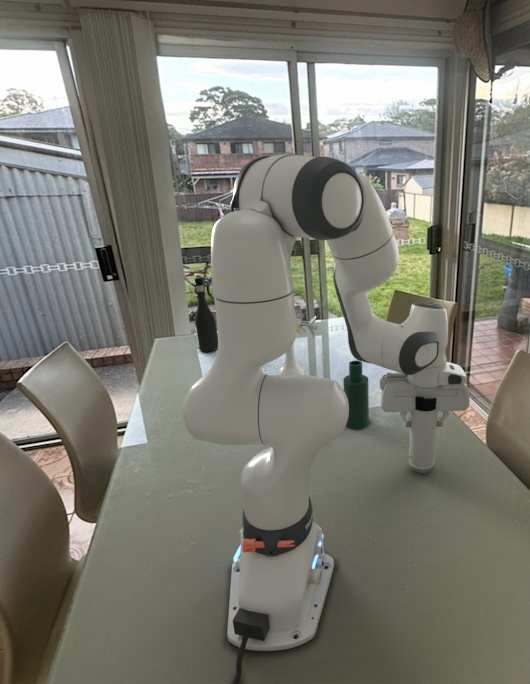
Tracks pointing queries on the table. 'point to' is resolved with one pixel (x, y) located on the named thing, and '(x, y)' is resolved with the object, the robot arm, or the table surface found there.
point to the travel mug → (423, 435)
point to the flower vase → (290, 361)
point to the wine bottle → (205, 322)
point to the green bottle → (357, 396)
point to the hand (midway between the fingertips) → (423, 425)
